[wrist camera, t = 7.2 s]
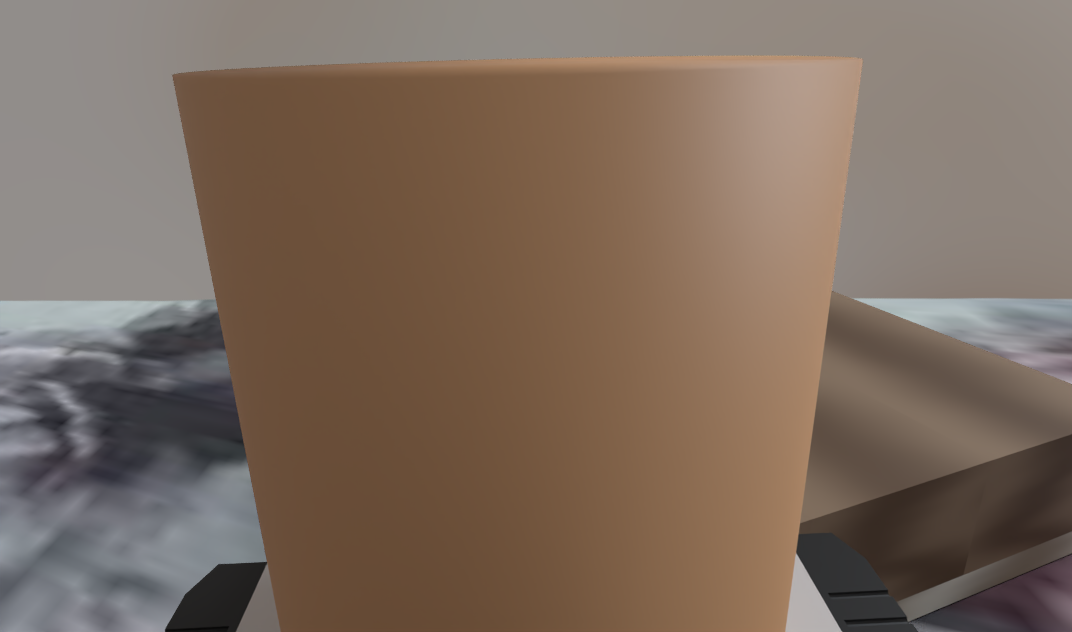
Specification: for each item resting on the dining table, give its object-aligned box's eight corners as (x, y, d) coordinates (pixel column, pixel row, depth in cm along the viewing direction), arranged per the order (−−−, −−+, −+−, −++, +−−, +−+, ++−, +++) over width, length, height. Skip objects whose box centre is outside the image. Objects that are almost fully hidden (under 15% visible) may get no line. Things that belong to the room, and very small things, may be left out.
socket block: (731, 337, 41) (738, 254, 39) (1099, 541, 24) (1141, 411, 22) (391, 405, 34) (381, 308, 32) (564, 765, 17) (563, 600, 15)
